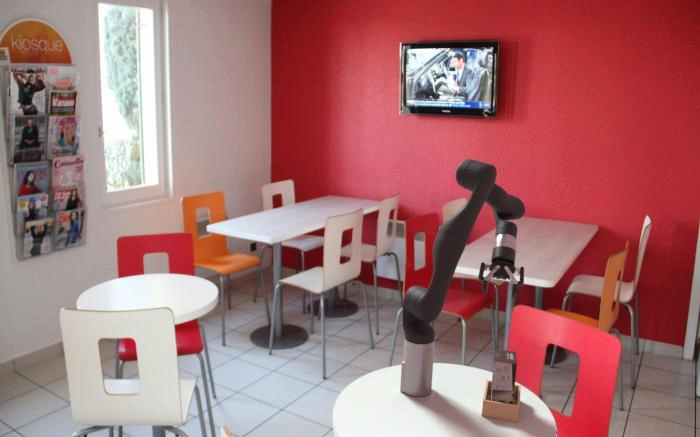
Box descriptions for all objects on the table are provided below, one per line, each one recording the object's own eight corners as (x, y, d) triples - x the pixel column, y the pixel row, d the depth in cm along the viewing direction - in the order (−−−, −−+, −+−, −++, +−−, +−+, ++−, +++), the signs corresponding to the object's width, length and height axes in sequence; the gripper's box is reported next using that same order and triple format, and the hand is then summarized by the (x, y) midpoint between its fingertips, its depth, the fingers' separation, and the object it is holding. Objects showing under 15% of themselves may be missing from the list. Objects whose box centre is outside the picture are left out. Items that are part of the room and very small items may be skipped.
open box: (481, 416, 183) (483, 400, 182) (485, 394, 196) (486, 380, 195) (517, 422, 181) (519, 406, 180) (519, 400, 193) (520, 385, 192)
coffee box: (512, 415, 183) (517, 364, 180) (489, 412, 185) (494, 361, 181) (511, 400, 192) (516, 350, 188) (490, 397, 193) (494, 348, 190)
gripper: (482, 242, 208) (476, 286, 200) (527, 247, 204) (522, 292, 196) (482, 254, 214) (476, 297, 206) (525, 258, 210) (521, 302, 202)
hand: (499, 294), depth 201 cm, fingers open, 8 cm apart
